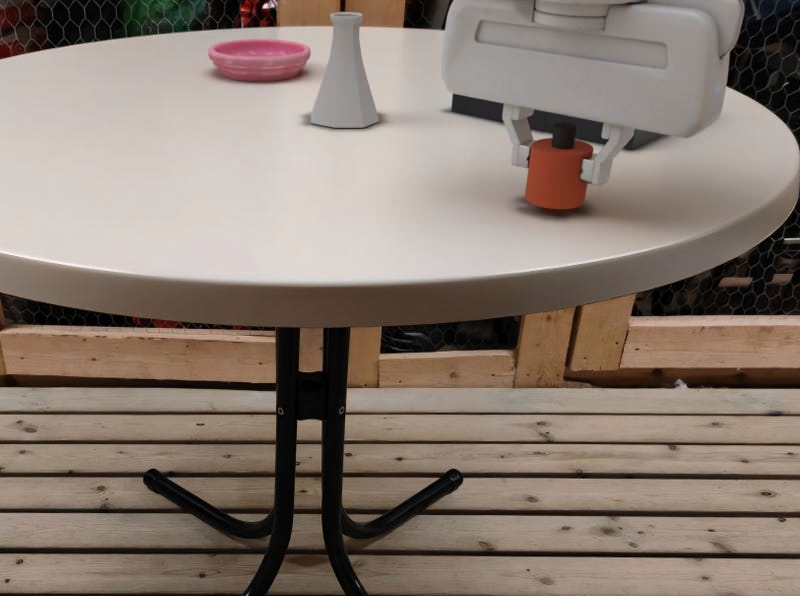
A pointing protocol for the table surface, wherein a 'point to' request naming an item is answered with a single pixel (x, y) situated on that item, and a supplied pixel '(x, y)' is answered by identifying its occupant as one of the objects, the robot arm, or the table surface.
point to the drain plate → (546, 121)
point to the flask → (345, 79)
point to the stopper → (557, 170)
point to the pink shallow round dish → (259, 59)
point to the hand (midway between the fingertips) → (557, 173)
